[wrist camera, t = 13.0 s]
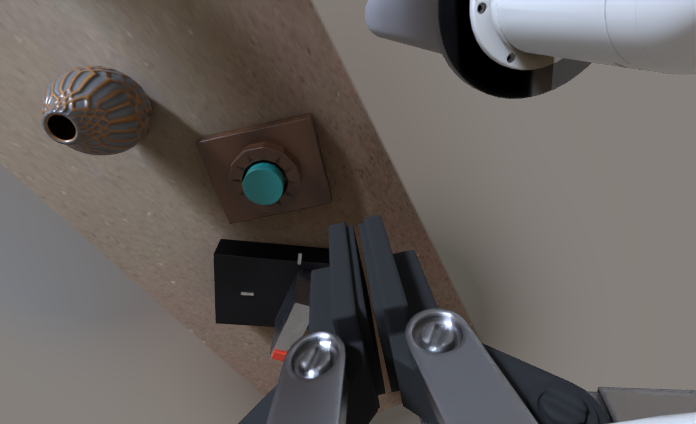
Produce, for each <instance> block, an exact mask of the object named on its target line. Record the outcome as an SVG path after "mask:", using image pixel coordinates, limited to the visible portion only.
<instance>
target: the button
mask: <svg viewBox="0 0 696 424" xmlns="http://www.w3.org/2000/svg"><path fill="white" fill-rule="evenodd" d="M284 184H285V178H284V175H283V173H282V171H281V170H280V169H279V168H278V167H277V166H275V165H274V164H271V163H267V162H261V163H257V164H255V165H253V166H252V167H251V168H250V169H249V170H248V172H247V174H246V176H245V178H244V180H243V191H244V193H245V195H246V196H247V198H248V199H249V200H251V201H252V202H254V203H256V204H259V205H270V204H273V203H275V202H276V201H278V200H279V199H280V197H281V196H282V193H283V189H284Z"/></svg>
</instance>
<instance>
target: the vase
mask: <svg viewBox="0 0 696 424" xmlns="http://www.w3.org/2000/svg"><path fill="white" fill-rule="evenodd" d="M42 112H43V119H42V125H43V128H44V130H45V132H46V133H47V135H48V136H49V137H50V138H52V139H53V140H54V141H56V142H58V143H61V144H65V145H67V146H69V147H70V148H72V149H74V150H77V151H80V152H82V153H86V154H91V155H112V154H117V153H121V152H124V151H126V150H128V149H130V148H132V147H134V146H135V145H136V144H138V143H139V142H140V141H141V140H142V139H143V138H144V137H145V135H146V134H147V132H148V130H149V128H150V125H151V121H152V108H151V104H150V101H149V98H148V96H147V95H146V93H145V91H144V90H143V89H142V88H141V86H140V85H139V84H138V83H137V82H135V81H134V80H133V79H132V78H130V77H129V76H127V75H125V74H124V73H122V72H119V71H117V70H114V69H111V68H107V67H101V66H85V67H78V68H74V69H71V70H68V71H66V72H64V73H62V74H61V75H59V76H58V77H57V78H55V79H54V80H53V81H52V82H51V83H50V85H49V86H48V87H47V89H46V91H45V93H44V95H43V100H42Z"/></svg>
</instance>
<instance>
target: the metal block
mask: <svg viewBox="0 0 696 424" xmlns="http://www.w3.org/2000/svg"><path fill="white" fill-rule="evenodd" d="M310 284H311V272H309V271H306V270H303V269H299V268H298V270H297V273H296V275H295V277H294V279H293V281H292V284H291V286H290V288H289V290H288V292H287V295H286V297H285V299H284V301H283V303H282V306H281V308H280V310H279V312H278V314H277V317H276V319H275V326H274V332H273V338H272V345H271V351H270V357H271V358H272V359H276V360H281V361H284V358H285V356H286V353H287V351H288V349H289V348H290V347H291V346H292V344H293V343H294V342H295V341H297V340H298V339H299V338H300V337H302V336H303V334H304V332H305V330H306V328H307V327H308V325H309V307H310Z"/></svg>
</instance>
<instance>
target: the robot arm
mask: <svg viewBox="0 0 696 424" xmlns="http://www.w3.org/2000/svg"><path fill="white" fill-rule="evenodd" d="M478 6H480V7H481V9H480V11H479V12H478V11H477V8H478ZM470 19H471V25H472V30H473V32H474V35H475V38H476V41H477V42H478V44H479V45H480V47H481V49H482V50H483V51H484V52H485V53H486V54H487V55H488V56H489V57H490V59H492V60H494V61H495V62H497V63H498V64H500V65H503V66H506V67H509V68H512V69H518V70H534V69H539V68H543V67H546V66H549V65H551V64H554V63H556V62H558V61H560V60H561V59H563V58H566V59H572V60H579V61H585V62H592V63H598V64H605V65H611V66H618V67H624V68H631V69H639V70H646V71H653V72H660V73H667V74H696V0H470ZM508 55H509V59H508V60H507V57H508ZM364 222H365V223H361V224H358V226H359V232H360V237H361V243H362V249H363V254H364V260H365V265H366V271H367V277H368V282H369V288H370V293H371V299H372V304H373V309H374V314H375V319H376V324H377V328H378V333H379V337H380V342H381V346H382V350H383V355H384V359H385V364H386V368H387V373H388V377H389V382H390V386H391V391H392V392H396V391H400V394H401V398H402V403H403V406H404V407H406V408H407V409H409V410H410V411H412V412H413V413H415V414H416V415H418V416H419V417H420V422H421V424H696V390H671V389H643V388H615V387H598V391H597V392H587V391H585V390H584V389H582V388H580V387H579V386H577V385H575V384H573V383H571V382H569V381H567V380H564V379H562V378H560V377H558V376H555V375H553V374H551V373H549V372H546V371H544V370H542V369H540V368H537V367H535V366H533V365H530V364H528V363H525V362H524V361H521V360H519V359H517V358H515V357H512V356H510V355H508V354H505V353H503V352H501V351H499V350H496V349H494V348H492V347H490V346H487V345H485V344H483V343H481V342H480V341H479V339H478V338H477V336H476V335H475V334H474V332H473V331H472V329H471V328H470V326H469V325H468V324H467V322H466V321H465V320H464V319H463V318H462V317H461V316H459V315H458V314H456V313H454V312H452V311H449V310H445V309H438V307H437V305H436V302H435V300H434V297H433V295H432V292H431V290H430V287H429V285H428V282H427V280H426V277H425V275H424V272H423V270H422V268H421V265H420V263H419V260H418V258H417V255H416V253H415V251H414V250H410V251H405V252H400V253H395V254H392V251H391V247H390V244H389V241H388V237H387V234H386V231H385V228H384V224H383V221H382V218H381V215H377V216H372V217H368V218H364ZM328 229H329V260H330V267H326V268H321V269H316V270H312V271H311V284H310V307H309V330H308V334H306V335H304V336H302V337H300V338H299V339H298V340H297V341H295V342H294V343H293V344H292V346H291V347H290V348H289V349H288V351H287V353H286V356H285V358H284V362H283V365H282V369H281V373H280V376H279V380H278V384H277V385H276V386H275V387H274V388H273V389H272V390H271V391H270V392H269V393H268V394H267V395H266V396H265V397H264V398H263V399H262V400H261V401H260V402H259V403H258V404H257V405H256V406H255V407H254V408H253V409H252V410H251V411H250V412H249V413H248V414H247V415H246V416H245V417H244V418H243V419H242V420H241V421H240V422H239V423H238V424H369V422H370V421H371V419H372V418H373V417H374V415H375V414H376V413H377V411H378V408H380V405H379V398H378V395H380V394H385V387H384V381H383V376H382V370H381V364H380V358H379V352H378V346H377V341H376V335H375V329H374V323H373V317H372V311H371V306H370V300H369V295H368V290H367V285H366V281H365V276H364V272H363V268H362V263H361V259H360V254H359V250H358V245H357V241H356V237H355V232H354V228H353V225H351V226H346V223H345V222H343V223H339V224H334V225H329V227H328Z"/></svg>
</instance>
